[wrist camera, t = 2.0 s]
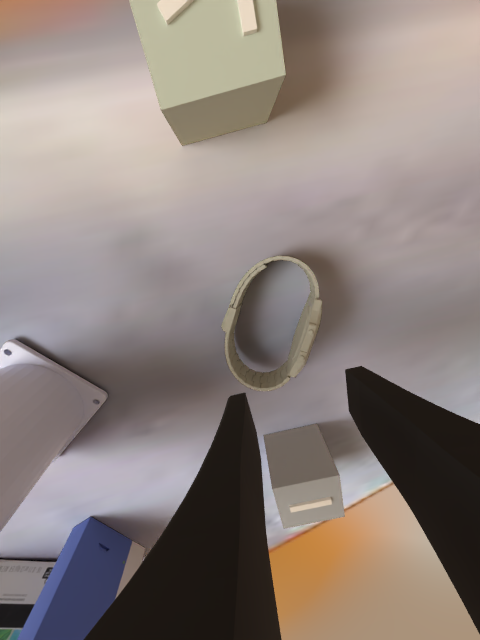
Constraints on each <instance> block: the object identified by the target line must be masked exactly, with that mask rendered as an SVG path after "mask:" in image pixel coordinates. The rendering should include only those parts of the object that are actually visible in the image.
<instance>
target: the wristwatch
mask: <svg viewBox="0 0 480 640" xmlns="http://www.w3.org/2000/svg"><path fill="white" fill-rule="evenodd" d="M278 260H286V261H291V262H293V263H296V264H298V266H300V267H301V268H302V269H304V272H305V273H306V275H307V276H308V279H309V282H310V291H311V292H310V294H309V297H308V299H307V302H306V304H305V306H304V309H303V311H302V314H301V317H300V319H299V322H298V325H297V328H296V331H295V334H294V337H293V342H292V346H291V350H290V353H289V357H288V360H287V361H286V362H285V363H284V364H283V366H281V367H279V368H278V369H277V370H274V371H271V372H264V373H262V372H256V371H254V370H252V369H249V368H248V367H247V366H246V365H244V364H243V362H242V361H241V360H240V359H239V356H238V354H237V353H236V348H235V342H234V330H235V325H236V323H237V319H238V316H239V313H240V309H241V306H242V300H243V298H244V297H243V296H244V295H245V293H246V291H247V288H248V287H249V285H250V282H251V281H252V280H253V279H254V278H255V276H256V275H257V274H259V273H260V272H261V271H262V270H264V269H265V268H267V267H268V266H267V263H270V262H272V261H278ZM233 295H234V296H232V299H231V302H230V305H229V308H228V310H227V313H226V315H225V318H224V320H223V323H222V330H223V331H224V332H227V333H226V335H225V356H226V360H227V364H228V366H229V368H230V370H231V372H232V374H233V375H234V376H235V378H236V379H238V381H239V382H240V383H242V384H243V385H245V386H246V387H248V388H250V389H251V388H252V389H254V390H257V391H260V390H261V391H268V390H269V391H271V390H275V389H277V388H280V387H281V386H283V385H284V384H286V383H287V382H288V381H289V380H290V377H291V376H292V377H296V376H297V374H298V373H299V372H300V371H301V370H302V368H303V367H304V366H305V364H306V362H307V359H308V357H309V354H310V351H311V348H312V345H313V343H314V340H315V337H316V334H317V332H318V329H319V326H320V321H321V316H322V309H321V308H322V300H321V299H320V298H319V288H318V283H317V280H316V278H315V275H314V274H313V272H312V271H311V270H310V269H309V267H308V266H307V265H306V264H305V263H303V262H301V260H298V259H295V258H292V257H288V256H275V257H270V258H267V259H265V260H264V261H261V262H259V263H257V264H256V265H255V266H253V267H252V268H251V269H250V270H249V271H248V272H247V273H246V274H245V275H244V277H243V278H242V280H241V281H240V282H239V284H238V286H237V288H236V290H235V292H234V294H233Z"/></svg>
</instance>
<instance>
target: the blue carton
mask: <svg viewBox="0 0 480 640" xmlns="http://www.w3.org/2000/svg"><path fill="white" fill-rule="evenodd" d="M144 551H145V548H144V547H142V546H141V545H139V544H137V543H136V542H134V541H132V540H130V539H128V538H127V537H125V536H123V535H122V534H120V533H118V532H116V531H115V530H113V529H111V528H109V527H108V526H106V525H104V524H103V523H101V522H99V521H97V520H96V519H94V518H92V517H90V518H88V519H86V520H85V521H83V522H82V523H80V524H79V525H77V526H75V527H74V528H73V530H72V532H71V534H70V536H69V538H68V540H67V542H66V544H65V546H64V548H63V549H62V551H61V553H60V555H59V557H58V559H57V561H56V563H55V565H54V567H53V569H52V571H51V573H50V575H49V577H48V579H47V581H46V583H45V585H44V587H43V589H42V591H41V593H40V595H39V597H38V599H37V601H36V603H35V605H34V607H33V609H32V611H31V613H30V615H29V617H28V619H27V621H26V623H25V625H24V627H23V629H22V631H21V633H20V635H19V637H18V639H17V640H83V639H84V638H85V637H86V636H87V634H88V633H89V632H90V631H91V629H92V628H93V627H94V626H95V624H96V623H97V622H98V620H99V619H100V618H101V617H102V615H103V614H104V613H105V612H106V610H107V609H108V608H109V607H110V605H111V604H112V603H113V601H114V600H115V599H116V598H117V596H118V595H119V594H120V593H121V591H122V590H123V589H124V587H125V586H126V585H127V583H128V582H129V580H130V579H131V578H132V576H133V575H134V573H135V572H136V571H137V569H138V568H139V566H140V565H141V563H142V559H143V555H144Z"/></svg>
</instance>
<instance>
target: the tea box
mask: <svg viewBox="0 0 480 640" xmlns="http://www.w3.org/2000/svg"><path fill="white" fill-rule="evenodd" d="M55 563H56V562H40V561H20V560H2V559H0V640H17V639H18V637H19V635H20V633H21V631H22V629H23V627H24V625H25V623H26V621H27V619H28V617H29V615H30V613H31V611H32V609H33V607H34V605H35V603H36V601H37V599H38V597H39V595H40V593H41V591H42V589H43V587H44V585H45V583H46V581H47V579H48V577H49V575H50V573H51V571H52V569H53V567H54V565H55Z"/></svg>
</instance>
